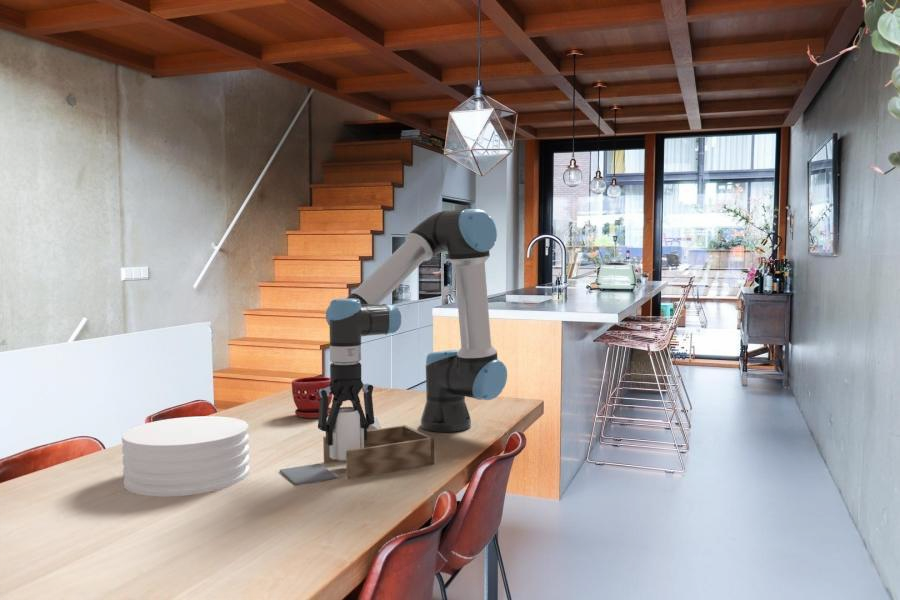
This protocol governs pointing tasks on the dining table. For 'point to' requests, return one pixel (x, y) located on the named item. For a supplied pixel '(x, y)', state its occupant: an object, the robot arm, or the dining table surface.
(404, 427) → the walnut u-shaped enclosure
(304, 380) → the plant pot
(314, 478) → the slate mat
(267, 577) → the dining table surface
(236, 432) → the plate stack
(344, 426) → the can
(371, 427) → the die
